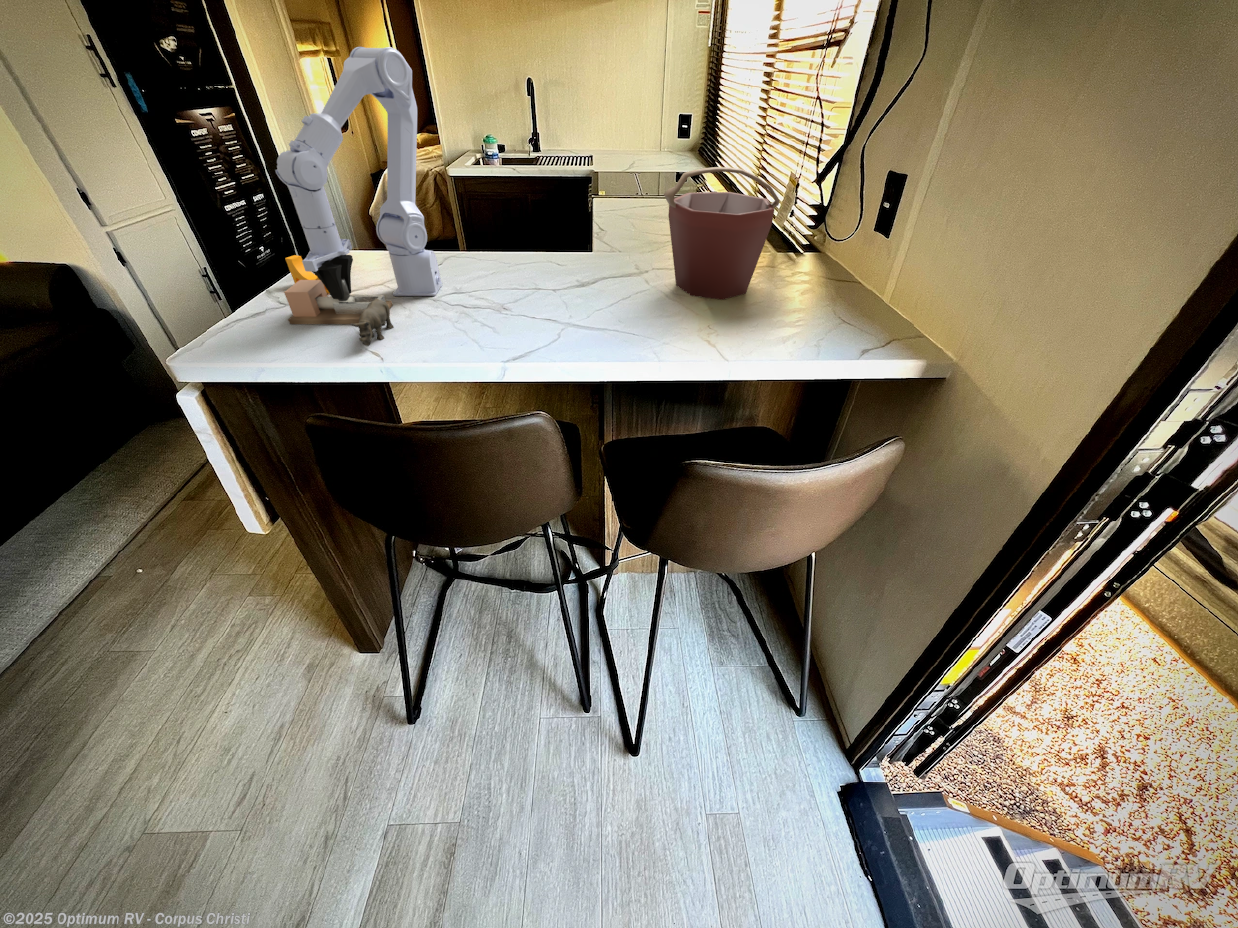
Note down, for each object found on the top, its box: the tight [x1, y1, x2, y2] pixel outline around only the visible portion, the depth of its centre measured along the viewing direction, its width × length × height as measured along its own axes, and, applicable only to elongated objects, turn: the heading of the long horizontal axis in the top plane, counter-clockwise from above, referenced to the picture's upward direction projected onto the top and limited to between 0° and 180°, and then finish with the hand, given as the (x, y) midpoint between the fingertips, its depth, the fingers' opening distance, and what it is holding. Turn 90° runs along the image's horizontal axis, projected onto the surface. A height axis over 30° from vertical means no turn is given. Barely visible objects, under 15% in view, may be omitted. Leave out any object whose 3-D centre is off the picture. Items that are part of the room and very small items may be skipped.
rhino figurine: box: [351, 299, 394, 347], centre depth 97 cm, size 4×14×6 cm, turn 1°
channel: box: [333, 294, 387, 314], centre depth 106 cm, size 9×5×2 cm, turn 92°
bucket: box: [663, 166, 780, 301], centre depth 116 cm, size 24×22×25 cm
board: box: [287, 300, 394, 325], centre depth 107 cm, size 18×10×1 cm, turn 92°
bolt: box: [315, 278, 355, 309], centre depth 105 cm, size 9×2×6 cm, turn 92°
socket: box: [283, 280, 329, 317], centre depth 105 cm, size 4×7×5 cm, turn 2°
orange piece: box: [285, 254, 330, 295], centre depth 118 cm, size 12×4×6 cm, turn 65°
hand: (342, 296), depth 105 cm, fingers closed on bolt, 2 cm apart
